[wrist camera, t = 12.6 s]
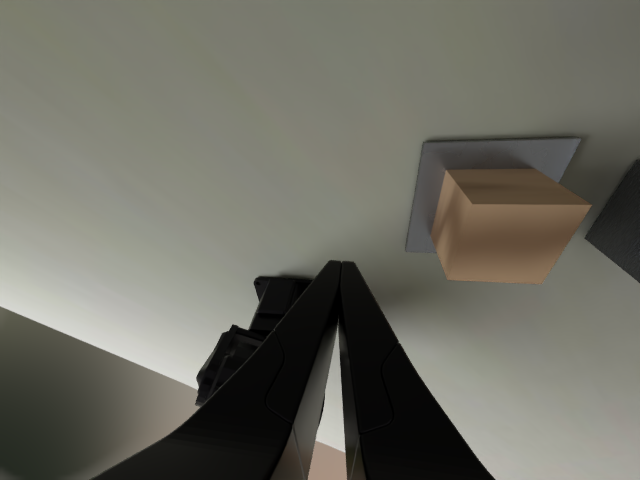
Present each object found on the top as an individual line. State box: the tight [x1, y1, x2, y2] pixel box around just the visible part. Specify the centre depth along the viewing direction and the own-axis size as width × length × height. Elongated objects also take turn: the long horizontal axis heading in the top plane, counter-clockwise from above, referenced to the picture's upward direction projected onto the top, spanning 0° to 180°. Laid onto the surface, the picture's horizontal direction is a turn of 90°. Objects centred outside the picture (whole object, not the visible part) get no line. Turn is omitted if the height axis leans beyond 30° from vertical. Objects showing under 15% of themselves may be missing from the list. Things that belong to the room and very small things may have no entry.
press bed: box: [405, 137, 581, 253], centre depth 19 cm, size 9×9×1 cm
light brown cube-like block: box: [430, 169, 592, 284], centre depth 16 cm, size 6×6×5 cm
